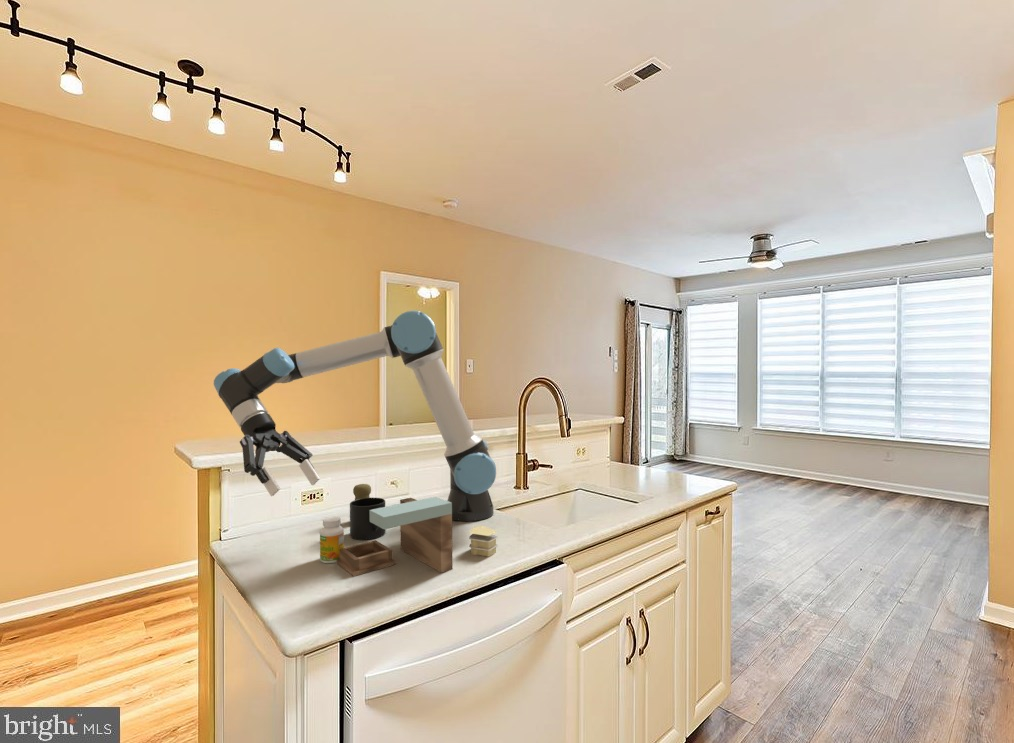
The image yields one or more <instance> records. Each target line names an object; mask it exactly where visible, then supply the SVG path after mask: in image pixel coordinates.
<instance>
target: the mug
mask: <svg viewBox="0 0 1014 743" xmlns="http://www.w3.org/2000/svg"><path fill="white" fill-rule="evenodd" d="M382 507H386V499H384V498H381V497H370V498H362V499H357V500H355V499H354V500H352V501H350V503H349V535H350V537H351V539H353V540H360V541H366V540H367V541H368V540H374V539H375V540H376V539H378V538H380V537H383V536H385V534H386V530H387V529H382V528H380V527H379V526H377V525H375V524H373V523H371V522H370V510H372V509H377V508H382Z"/></svg>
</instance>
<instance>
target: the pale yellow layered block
mask: <svg viewBox="0 0 1014 743" xmlns="http://www.w3.org/2000/svg"><path fill="white" fill-rule="evenodd" d="M469 533H470V534H471V535H470V536H469V537H468V538H469V540H470V544H469V546H468V547H469V549H470V554H471V555H474V556H475V555H479V556H483V557H488V558H489V557H490V556H492V555H495V554H496V553H497V547H498V546H499V545H498V544H497V539H498V538H499V537H498V536H497V535H496V533H498V531H497V530H495V529H492V528H490V527H488V526H483V525H481V526H474V527H473V528H472V529H470V530H469ZM494 534H495V535H494Z"/></svg>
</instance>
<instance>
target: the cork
mask: <svg viewBox="0 0 1014 743" xmlns="http://www.w3.org/2000/svg"><path fill="white" fill-rule="evenodd" d="M352 493H353V495H354V500H357V499H362V498H371V497H370V494H372V487H371V486H370V484H368V483H359V484H356V485H354V487H353V490H352Z"/></svg>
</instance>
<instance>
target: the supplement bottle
mask: <svg viewBox="0 0 1014 743" xmlns="http://www.w3.org/2000/svg"><path fill="white" fill-rule="evenodd" d="M341 522H342V521H341V517H339V516H328V517H325V518H323V519H322V526H323V527H322V528H321V529H320V532H319V560H320V562H321V563H323V564H334V563H337V559H340V549H342V548H345V543H344V542H345V538H344V536H345V535H344V534H345V533H344V532H345V530H344V527H343V526H341Z"/></svg>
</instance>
